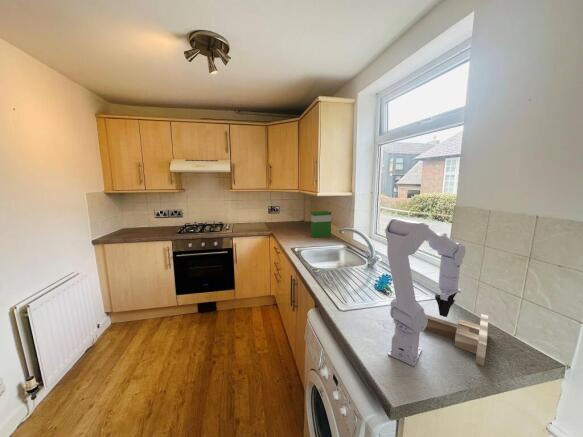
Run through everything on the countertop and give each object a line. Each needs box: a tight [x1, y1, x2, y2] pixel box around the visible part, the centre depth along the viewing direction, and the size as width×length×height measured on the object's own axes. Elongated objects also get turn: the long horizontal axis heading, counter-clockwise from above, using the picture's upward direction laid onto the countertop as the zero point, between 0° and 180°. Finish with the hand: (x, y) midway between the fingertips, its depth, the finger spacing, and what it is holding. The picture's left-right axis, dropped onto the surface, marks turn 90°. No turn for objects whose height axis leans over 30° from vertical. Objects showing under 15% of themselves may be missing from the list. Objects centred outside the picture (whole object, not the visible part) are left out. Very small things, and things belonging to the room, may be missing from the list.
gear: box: [373, 273, 393, 294], centre depth 124 cm, size 11×6×10 cm
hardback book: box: [310, 210, 332, 239], centre depth 235 cm, size 18×7×24 cm, turn 108°
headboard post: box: [454, 313, 489, 367], centre depth 83 cm, size 20×8×7 cm, turn 141°
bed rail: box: [423, 314, 470, 341], centre depth 88 cm, size 3×14×5 cm, turn 50°
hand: (445, 311), depth 88 cm, fingers open, 7 cm apart
